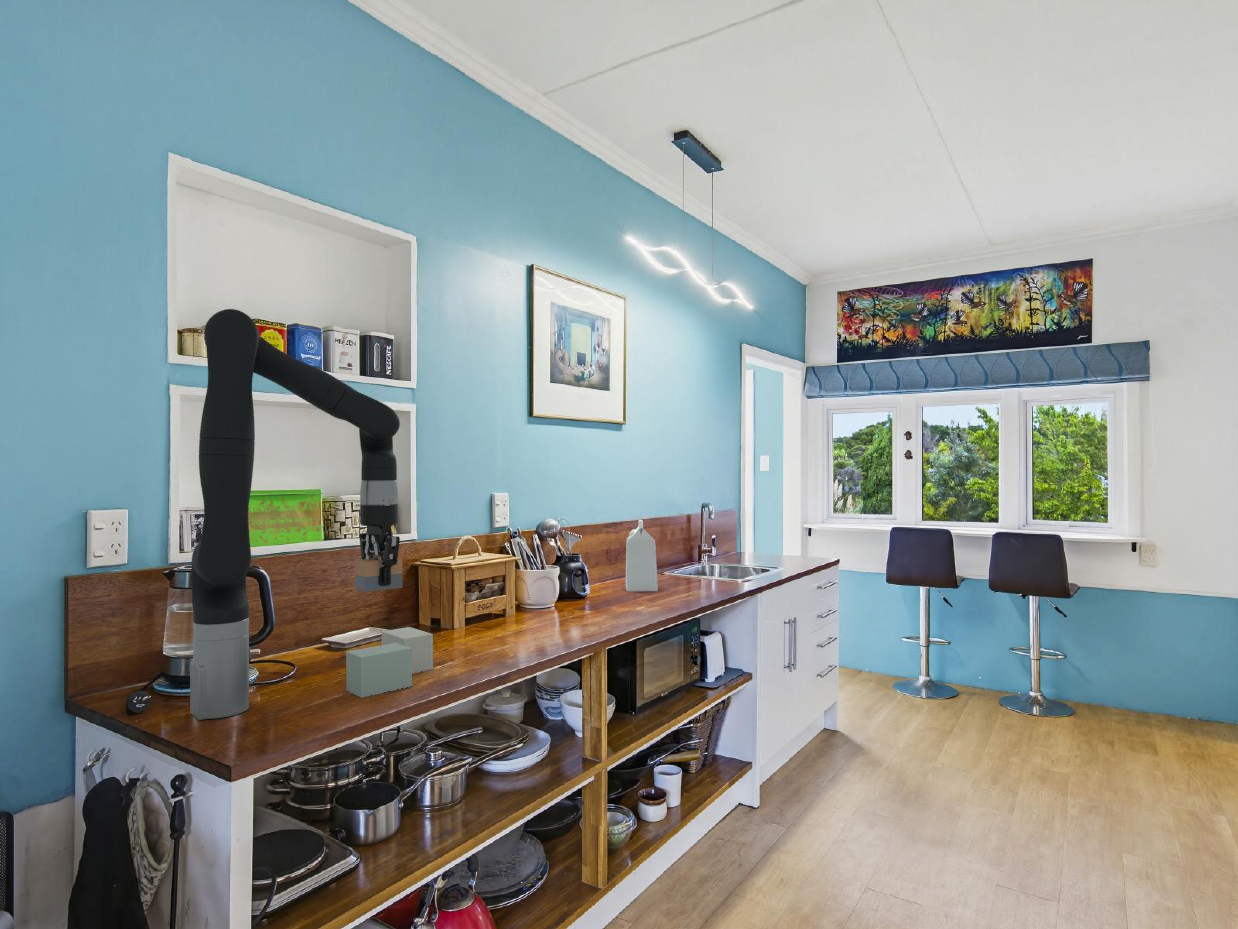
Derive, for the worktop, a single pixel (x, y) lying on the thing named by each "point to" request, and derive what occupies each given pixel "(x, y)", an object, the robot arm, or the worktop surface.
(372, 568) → the top plate
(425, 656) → the stand
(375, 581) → the bottom plate
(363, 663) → the stand
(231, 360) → the robot arm
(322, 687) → the worktop surface
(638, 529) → the milk
